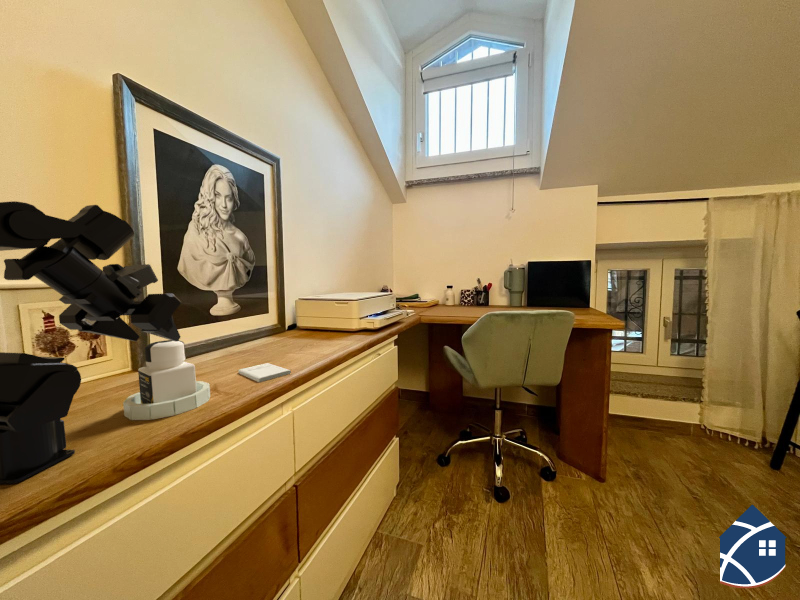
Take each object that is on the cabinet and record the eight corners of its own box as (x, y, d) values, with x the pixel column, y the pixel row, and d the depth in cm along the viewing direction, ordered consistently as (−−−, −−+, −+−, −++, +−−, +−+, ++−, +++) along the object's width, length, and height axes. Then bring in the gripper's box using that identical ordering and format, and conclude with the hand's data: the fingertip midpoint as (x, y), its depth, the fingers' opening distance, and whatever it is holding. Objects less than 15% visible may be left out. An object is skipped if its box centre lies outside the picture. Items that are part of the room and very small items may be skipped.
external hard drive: (259, 384, 71) (238, 375, 79) (291, 375, 77) (268, 367, 85) (258, 378, 71) (237, 369, 79) (291, 369, 77) (268, 362, 85)
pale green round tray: (176, 419, 52) (175, 405, 52) (105, 420, 52) (103, 406, 52) (223, 391, 65) (222, 380, 65) (165, 392, 65) (164, 381, 65)
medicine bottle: (140, 404, 58) (135, 343, 57) (183, 392, 64) (179, 336, 63) (153, 413, 54) (147, 347, 53) (197, 399, 59) (193, 339, 59)
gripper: (166, 244, 49) (222, 305, 60) (74, 249, 52) (144, 307, 63) (116, 294, 41) (191, 354, 53) (14, 297, 44) (105, 352, 56)
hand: (157, 339), depth 56 cm, fingers open, 9 cm apart
